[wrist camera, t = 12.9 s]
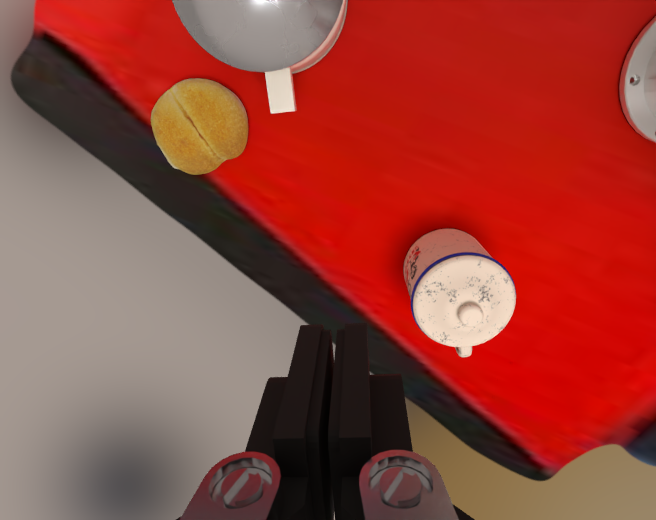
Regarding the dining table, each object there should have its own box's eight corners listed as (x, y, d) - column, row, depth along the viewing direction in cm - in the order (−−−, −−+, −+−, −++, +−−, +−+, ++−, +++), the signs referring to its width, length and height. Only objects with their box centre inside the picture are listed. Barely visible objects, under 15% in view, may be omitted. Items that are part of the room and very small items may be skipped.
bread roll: (265, 139, 44) (258, 143, 40) (191, 182, 46) (177, 190, 42) (219, 59, 41) (206, 55, 38) (142, 108, 43) (123, 109, 40)
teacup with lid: (394, 234, 46) (408, 277, 35) (483, 217, 45) (526, 256, 34) (411, 334, 50) (428, 400, 39) (493, 321, 49) (534, 385, 38)
